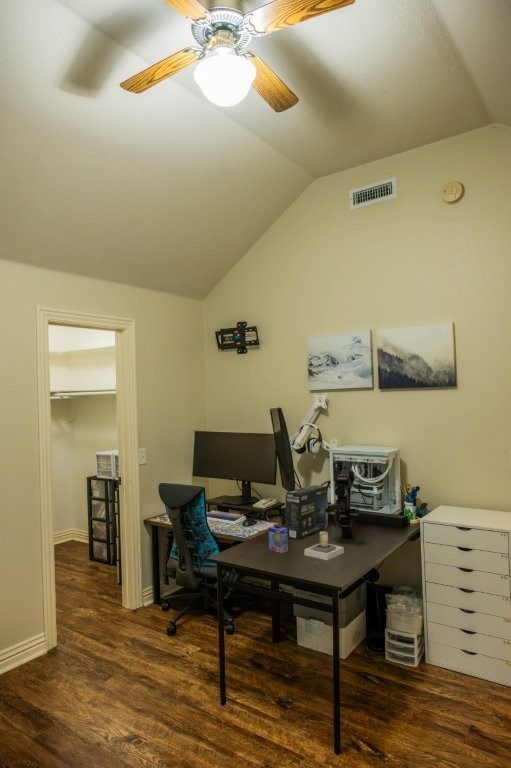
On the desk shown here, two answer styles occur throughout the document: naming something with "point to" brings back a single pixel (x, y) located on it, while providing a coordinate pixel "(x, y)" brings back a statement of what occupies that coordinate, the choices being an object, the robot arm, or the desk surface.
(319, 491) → the router box
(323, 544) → the beige domed cylinder
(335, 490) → the robot arm
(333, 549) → the housing
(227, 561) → the desk surface
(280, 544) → the ink cartridge box
